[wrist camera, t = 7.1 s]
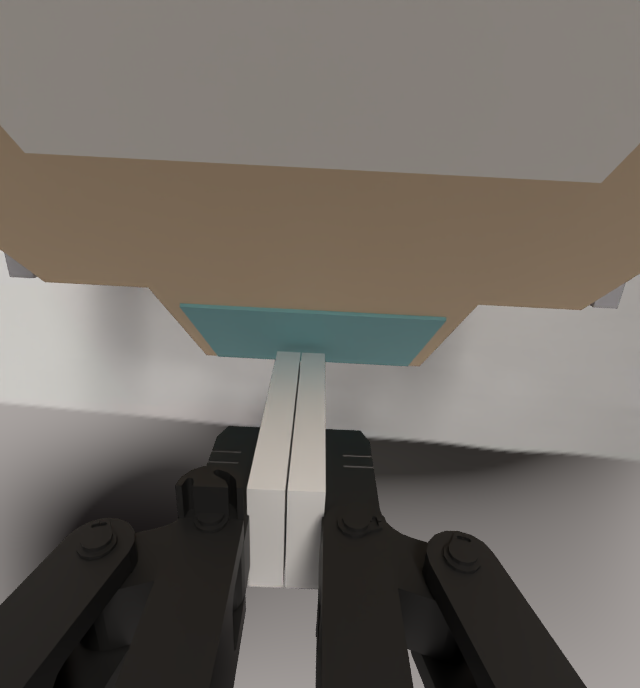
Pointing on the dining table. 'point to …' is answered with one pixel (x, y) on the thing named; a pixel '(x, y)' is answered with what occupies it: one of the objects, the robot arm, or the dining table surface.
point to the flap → (324, 162)
